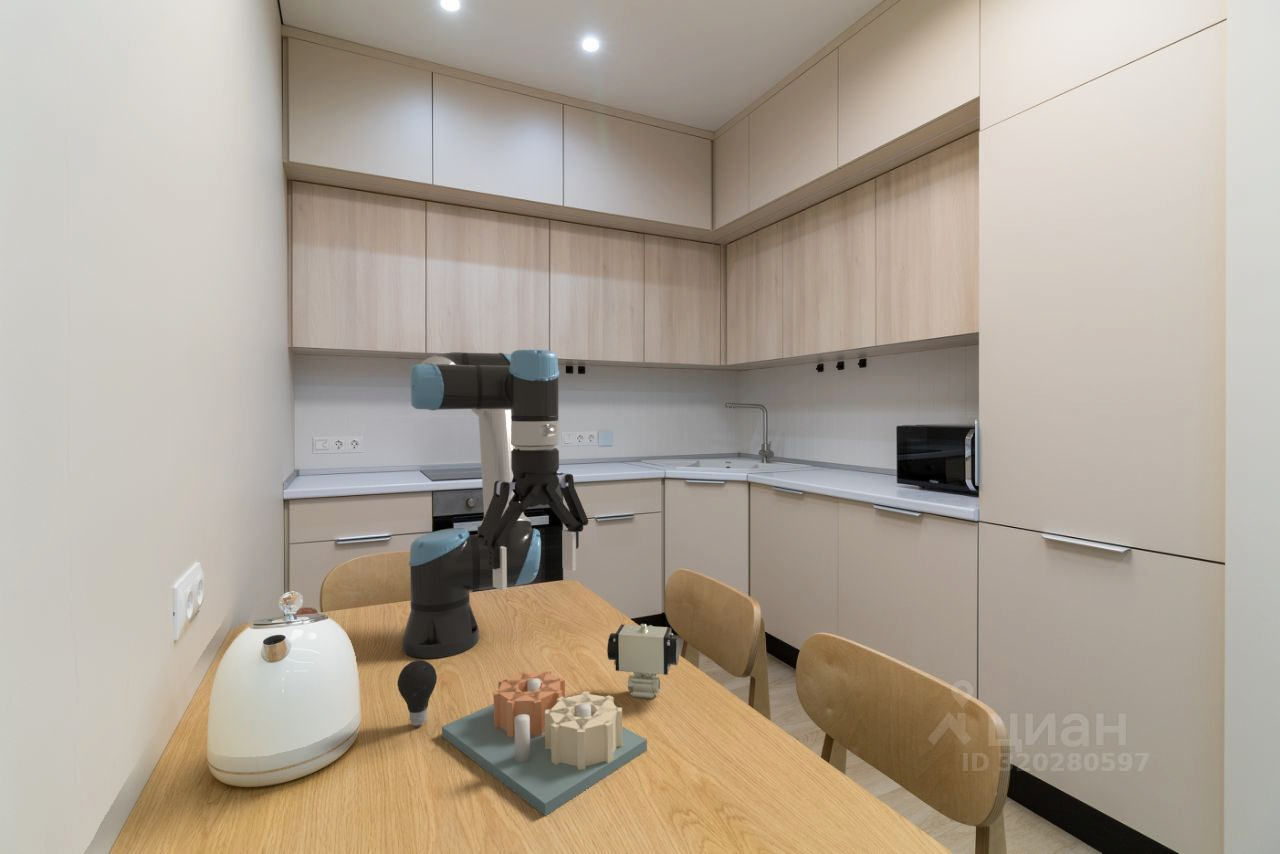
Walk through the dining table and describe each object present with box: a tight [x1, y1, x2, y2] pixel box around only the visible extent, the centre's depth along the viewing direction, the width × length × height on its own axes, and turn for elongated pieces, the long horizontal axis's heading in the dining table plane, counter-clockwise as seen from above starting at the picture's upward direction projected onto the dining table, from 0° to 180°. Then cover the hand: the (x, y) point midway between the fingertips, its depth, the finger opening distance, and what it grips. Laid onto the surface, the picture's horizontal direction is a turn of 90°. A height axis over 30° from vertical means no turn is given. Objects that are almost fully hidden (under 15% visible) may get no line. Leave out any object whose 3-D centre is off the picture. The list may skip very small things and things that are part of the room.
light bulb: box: [397, 659, 438, 728], centre depth 88 cm, size 6×6×10 cm
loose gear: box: [492, 670, 566, 737], centre depth 87 cm, size 10×10×5 cm
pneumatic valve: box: [606, 623, 680, 699], centre depth 98 cm, size 6×12×12 cm, turn 78°
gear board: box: [441, 678, 648, 816], centre depth 83 cm, size 25×18×7 cm
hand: (536, 578), depth 93 cm, fingers open, 13 cm apart
